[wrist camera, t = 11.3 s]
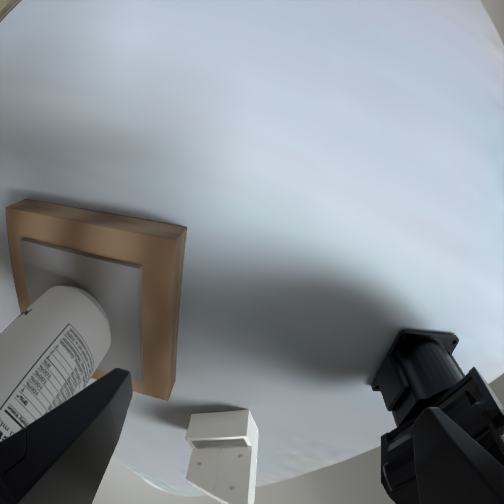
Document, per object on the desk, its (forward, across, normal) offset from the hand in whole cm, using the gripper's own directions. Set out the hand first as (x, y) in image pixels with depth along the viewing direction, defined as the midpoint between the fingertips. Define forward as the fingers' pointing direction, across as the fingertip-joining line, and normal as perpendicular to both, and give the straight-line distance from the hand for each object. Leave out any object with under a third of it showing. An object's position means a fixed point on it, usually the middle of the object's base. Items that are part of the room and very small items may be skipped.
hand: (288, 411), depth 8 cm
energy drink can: (+10, +13, +7) cm, 18 cm away
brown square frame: (+13, +13, +7) cm, 20 cm away
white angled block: (+13, +1, +19) cm, 23 cm away
